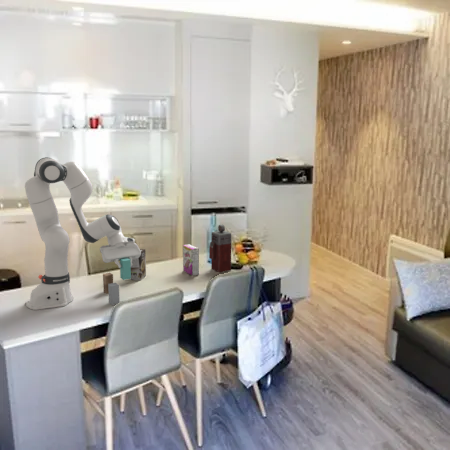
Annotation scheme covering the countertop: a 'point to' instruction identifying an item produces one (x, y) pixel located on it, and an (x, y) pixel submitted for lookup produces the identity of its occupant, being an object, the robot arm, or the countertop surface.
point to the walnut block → (107, 281)
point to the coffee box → (139, 266)
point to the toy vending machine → (220, 250)
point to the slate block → (113, 293)
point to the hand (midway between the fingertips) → (125, 266)
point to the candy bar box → (191, 259)
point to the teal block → (125, 269)
